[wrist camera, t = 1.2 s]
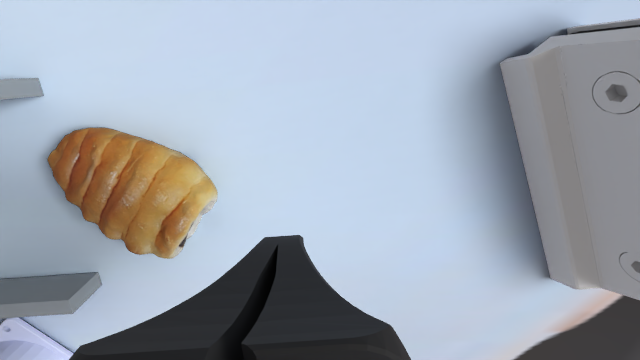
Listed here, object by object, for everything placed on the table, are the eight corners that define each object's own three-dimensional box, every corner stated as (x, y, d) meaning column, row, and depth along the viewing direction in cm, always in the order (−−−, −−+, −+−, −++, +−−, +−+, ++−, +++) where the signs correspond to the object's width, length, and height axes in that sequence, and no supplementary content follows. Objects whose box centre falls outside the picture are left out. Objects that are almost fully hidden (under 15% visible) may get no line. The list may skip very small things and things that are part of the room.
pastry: (53, 184, 22) (1, 206, 18) (94, 94, 20) (46, 99, 17) (185, 254, 24) (162, 286, 20) (232, 176, 22) (216, 196, 18)
